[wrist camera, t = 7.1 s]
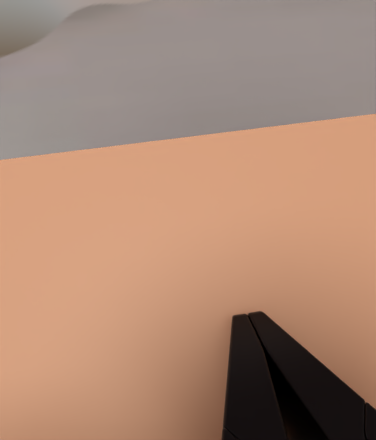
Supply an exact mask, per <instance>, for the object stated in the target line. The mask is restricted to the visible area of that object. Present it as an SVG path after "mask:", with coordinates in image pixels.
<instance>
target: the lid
mask: <svg viewBox="0 0 376 440" xmlns="http://www.w3.org/2000/svg"><path fill="white" fill-rule="evenodd" d="M257 311H262V312H264V313H265V314H266V315H267V316H268V317H270V318H271V319H272V320H273V321H274V322H275V323H277V324H278V325H279V326H280V327H281V328H282V329H283V330H285V331H286V332H287V333H288V334H289V335H290V336H292V337H293V338H294V339H295V340H296V341H297V342H298V343H300V344H301V345H302V346H303V347H304V348H305V349H307V350H308V351H309V352H310V353H311V354H312V355H313V356H315V357H316V358H317V359H318V360H319V361H320V362H322V363H323V364H324V365H325V366H326V367H327V368H328V369H330V370H331V371H332V372H333V373H334V374H335V375H337V376H338V377H339V378H340V379H341V380H342V381H343V382H345V383H346V384H347V385H348V386H349V387H350V388H352V389H353V390H354V391H355V392H356V393H357V394H359V395H360V396H361V397H362V398H363V399H364V400H365V403H366V402H368V403H369V404H370V405H371V406H373V407H374V408H375V409H376V114H371V115H363V116H355V117H347V118H338V119H330V120H322V121H314V122H306V123H298V124H290V125H282V126H273V127H265V128H257V129H249V130H241V131H233V132H225V133H216V134H208V135H200V136H192V137H184V138H176V139H168V140H160V141H151V142H143V143H135V144H127V145H119V146H111V147H103V148H95V149H86V150H78V151H70V152H62V153H54V154H46V155H38V156H30V157H21V158H13V159H5V160H0V440H221V438H222V430H223V417H224V405H225V394H226V382H227V370H228V359H229V347H230V335H231V324H232V316H233V315H238V314H248V313H250V312H257Z"/></svg>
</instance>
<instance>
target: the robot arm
mask: <svg viewBox="0 0 376 440" xmlns="http://www.w3.org/2000/svg"><path fill="white" fill-rule="evenodd" d="M221 440H376V409H375V408H374V407H373V406H371V405H370V404H369V403H368V402H366V403H365V400H364V399H363V398H362V397H361V396H360V395H359V394H357V393H356V392H355V391H354V390H353V389H352V388H350V387H349V386H348V385H347V384H346V383H345V382H343V381H342V380H341V379H340V378H339V377H338V376H337V375H335V374H334V373H333V372H332V371H331V370H330V369H328V368H327V367H326V366H325V365H324V364H323V363H322V362H320V361H319V360H318V359H317V358H316V357H315V356H313V355H312V354H311V353H310V352H309V351H308V350H307V349H305V348H304V347H303V346H302V345H301V344H300V343H298V342H297V341H296V340H295V339H294V338H293V337H292V336H290V335H289V334H288V333H287V332H286V331H285V330H283V329H282V328H281V327H280V326H279V325H278V324H277V323H275V322H274V321H273V320H272V319H271V318H270V317H268V316H267V315H266V314H265V313H264V312H262V311H257V312H250V313H248V314H238V315H233V316H232V324H231V335H230V347H229V359H228V370H227V382H226V394H225V405H224V417H223V430H222V438H221Z"/></svg>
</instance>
